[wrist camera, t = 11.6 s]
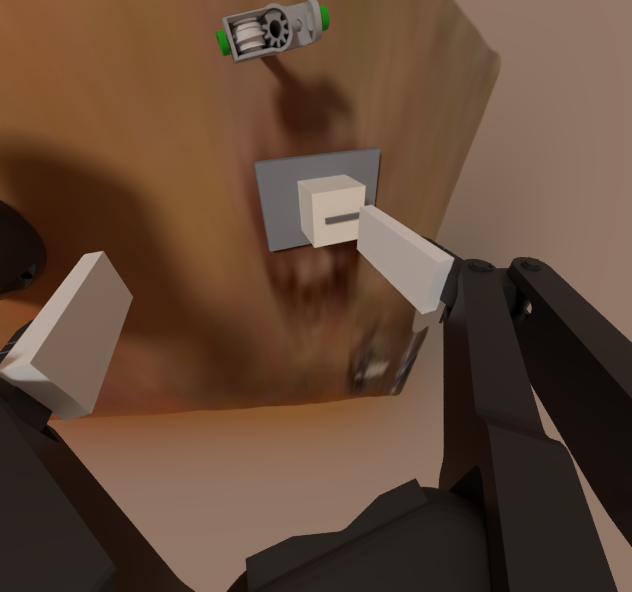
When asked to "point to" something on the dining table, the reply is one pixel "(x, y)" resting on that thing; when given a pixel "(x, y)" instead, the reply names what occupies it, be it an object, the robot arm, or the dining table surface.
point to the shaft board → (284, 173)
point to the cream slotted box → (330, 209)
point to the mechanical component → (272, 30)
